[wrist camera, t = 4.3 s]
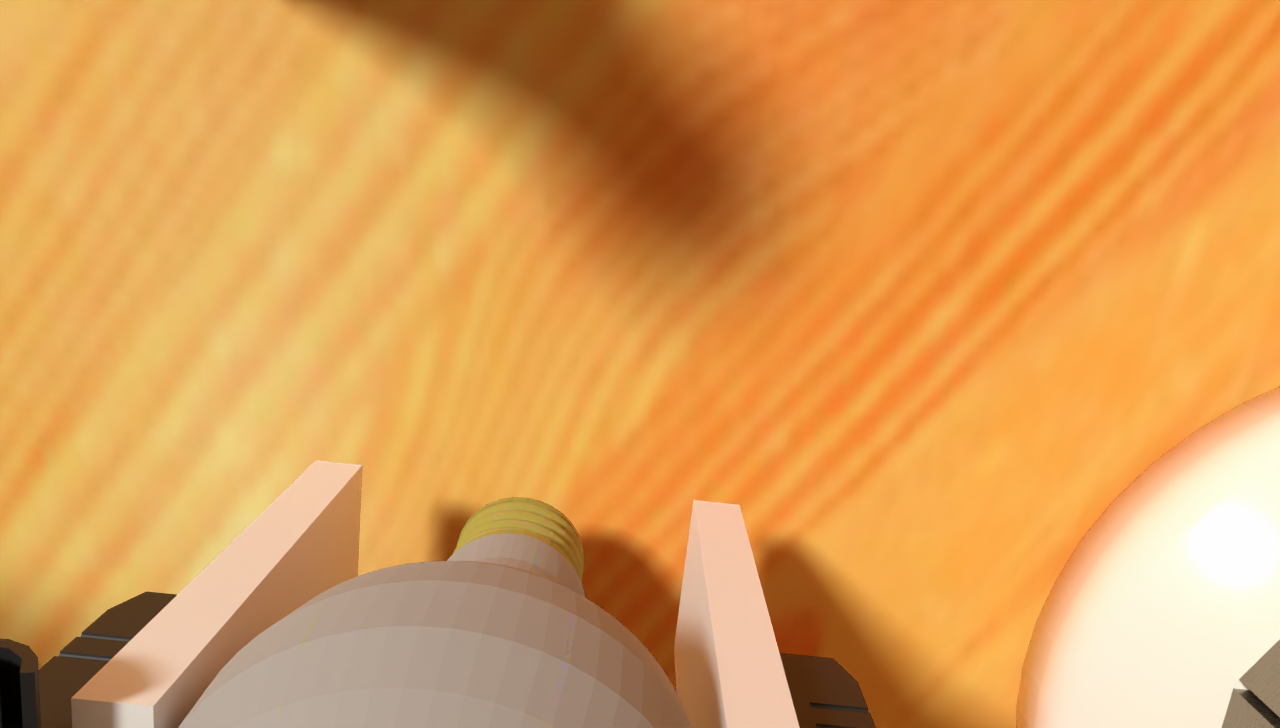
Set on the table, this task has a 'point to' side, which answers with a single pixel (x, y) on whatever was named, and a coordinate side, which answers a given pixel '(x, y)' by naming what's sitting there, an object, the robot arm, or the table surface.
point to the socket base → (1167, 588)
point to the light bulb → (452, 645)
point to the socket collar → (1257, 695)
